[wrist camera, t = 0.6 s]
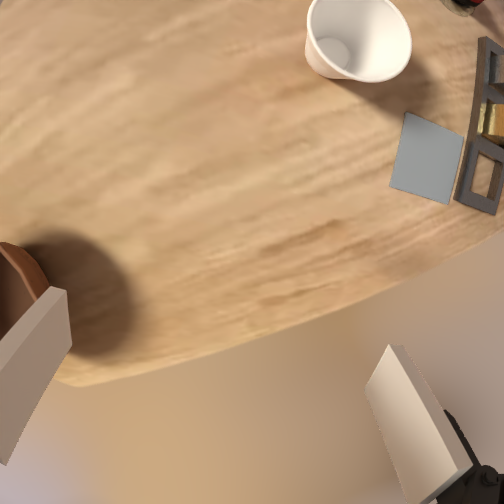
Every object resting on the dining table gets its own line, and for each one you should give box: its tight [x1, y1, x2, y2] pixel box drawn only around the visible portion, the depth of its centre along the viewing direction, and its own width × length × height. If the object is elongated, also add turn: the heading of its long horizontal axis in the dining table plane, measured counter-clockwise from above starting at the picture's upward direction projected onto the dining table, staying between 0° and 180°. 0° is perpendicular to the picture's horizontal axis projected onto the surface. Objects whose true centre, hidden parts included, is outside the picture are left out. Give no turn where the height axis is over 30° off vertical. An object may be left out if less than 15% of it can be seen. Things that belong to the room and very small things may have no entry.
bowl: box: [0, 242, 50, 341], centre depth 35 cm, size 22×22×11 cm
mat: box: [389, 112, 464, 205], centre depth 36 cm, size 10×10×1 cm
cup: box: [305, 0, 412, 83], centre depth 26 cm, size 10×10×11 cm
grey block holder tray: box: [453, 36, 504, 215], centre depth 33 cm, size 26×8×2 cm, turn 169°
